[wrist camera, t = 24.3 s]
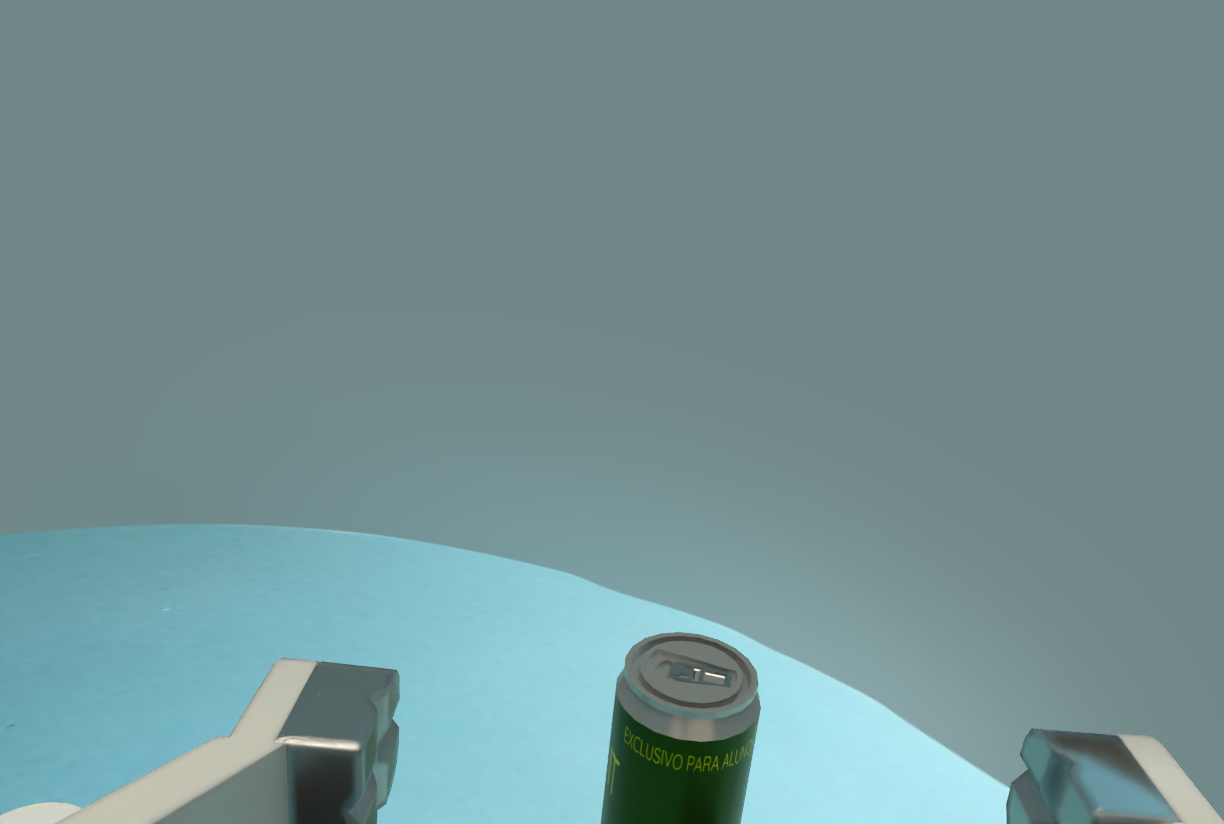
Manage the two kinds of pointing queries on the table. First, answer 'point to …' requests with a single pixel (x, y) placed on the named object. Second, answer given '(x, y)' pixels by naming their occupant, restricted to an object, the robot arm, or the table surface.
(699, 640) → the green drink can
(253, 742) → the robot arm
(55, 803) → the pill bottle
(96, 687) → the table surface
